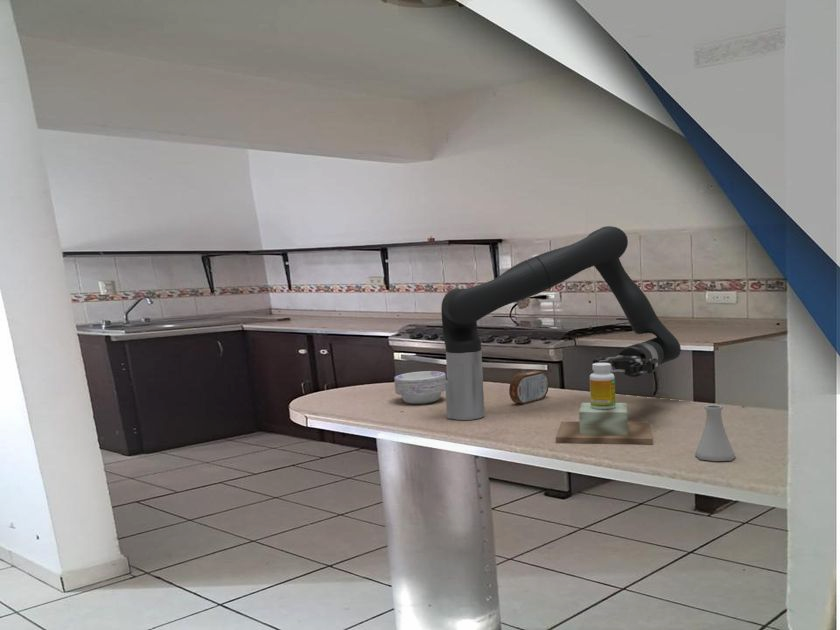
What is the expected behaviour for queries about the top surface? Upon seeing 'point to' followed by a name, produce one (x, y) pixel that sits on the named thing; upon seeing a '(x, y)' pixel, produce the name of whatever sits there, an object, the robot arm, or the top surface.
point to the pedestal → (604, 427)
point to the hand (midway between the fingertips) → (613, 369)
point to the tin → (528, 387)
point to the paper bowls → (420, 386)
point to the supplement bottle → (602, 387)
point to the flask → (714, 437)
